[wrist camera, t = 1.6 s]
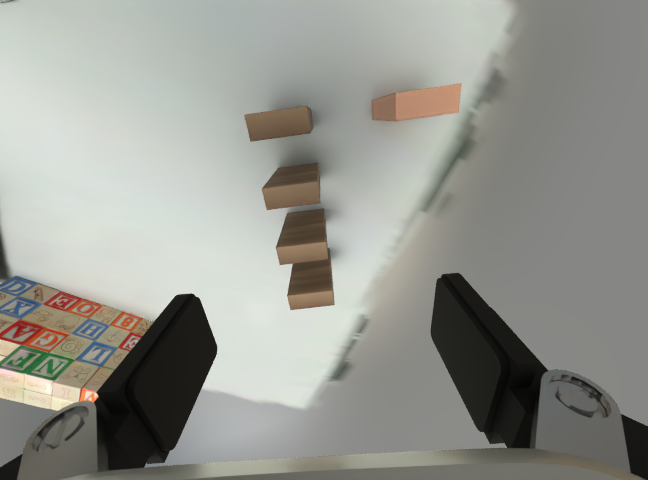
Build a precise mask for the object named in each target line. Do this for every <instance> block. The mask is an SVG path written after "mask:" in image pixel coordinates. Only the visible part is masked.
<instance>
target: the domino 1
mask: <svg viewBox="0 0 648 480" xmlns="http://www.w3.org/2000/svg"><path fill="white" fill-rule="evenodd" d="M245 120H246V124H247V128H248V132H249V137H250V141H258V140H265V139H273V138H280V137H287V136H294V135H301V134H308V133H311V131H312V129H313V124H312V117H311V109H310V108H309V107H307V106H303V107H296V108H289V109H282V110H275V111H268V112H261V113H254V114H247V115H245Z"/></svg>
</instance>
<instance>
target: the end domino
mask: <svg viewBox="0 0 648 480" xmlns="http://www.w3.org/2000/svg"><path fill="white" fill-rule="evenodd" d="M460 92H461V84H454V85H447V86H440V87H433V88H426V89H419V90H413V91H406V92H399V93H394V94H391V95H387V96H384V97H381V98H378V99H375V100H372V112H373V120H386V121H400V120H408V119H415V118H422V117H429V116H436V115H443V114H450V113H458V112H459V103H460Z"/></svg>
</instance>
